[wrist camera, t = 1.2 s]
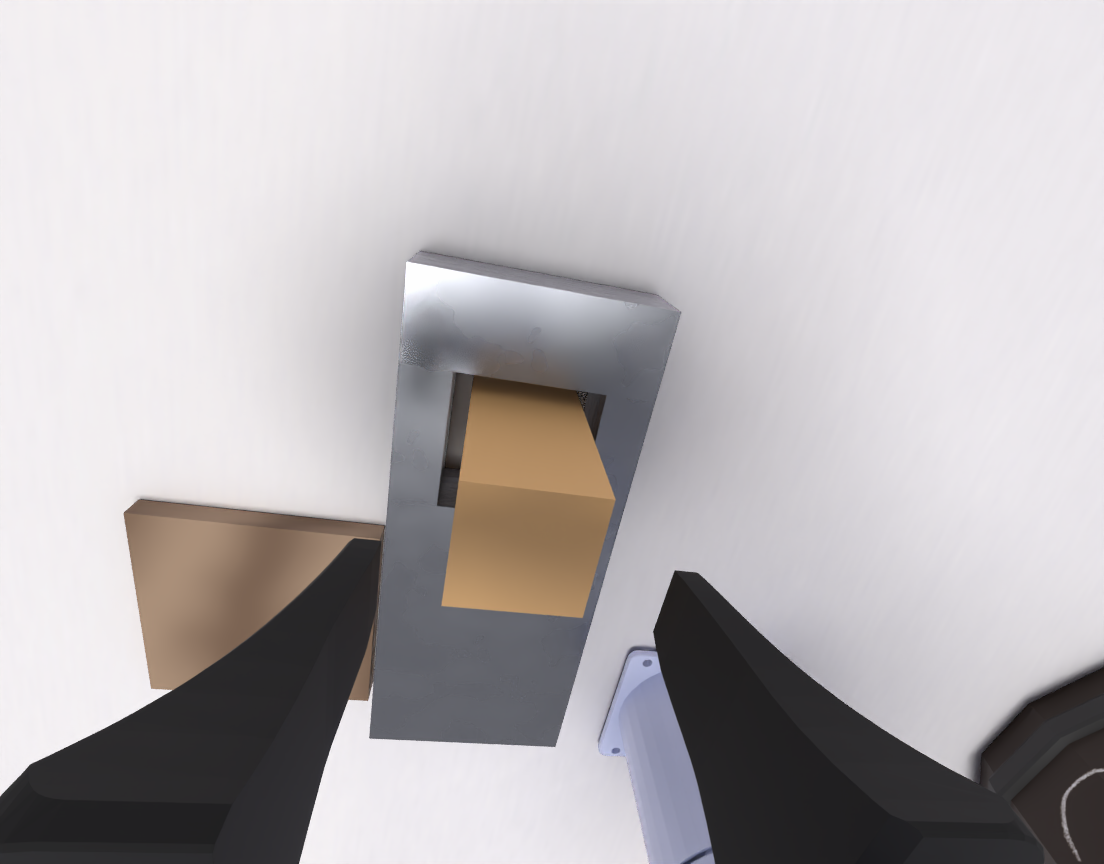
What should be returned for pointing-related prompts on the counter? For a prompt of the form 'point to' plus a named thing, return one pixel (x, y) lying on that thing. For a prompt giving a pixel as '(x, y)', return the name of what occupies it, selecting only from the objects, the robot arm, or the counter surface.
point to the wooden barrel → (1056, 770)
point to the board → (226, 580)
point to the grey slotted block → (430, 489)
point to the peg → (527, 503)
